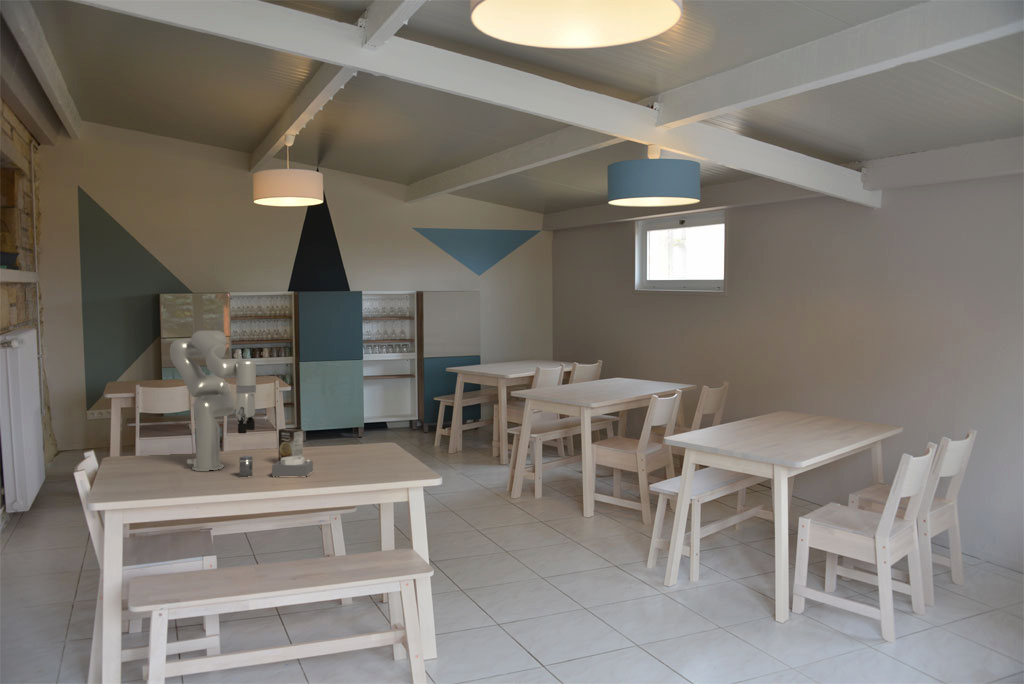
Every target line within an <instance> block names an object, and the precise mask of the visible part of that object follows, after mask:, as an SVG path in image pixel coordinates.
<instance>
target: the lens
mask: <svg viewBox="0 0 1024 684" xmlns="http://www.w3.org/2000/svg"><path fill="white" fill-rule="evenodd" d="M253 461H254V459H253V456H251V455H244V456H240V457H239V461H238V462H239V478H240V477H248V476H252V477H253Z"/></svg>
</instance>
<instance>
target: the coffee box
mask: <svg viewBox="0 0 1024 684" xmlns="http://www.w3.org/2000/svg"><path fill="white" fill-rule="evenodd" d="M290 456H301V457H304V429H302V428H301V429H300V428H291V427H288V428H280V429H278V461H281V458H283V457H290Z"/></svg>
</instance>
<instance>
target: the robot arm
mask: <svg viewBox="0 0 1024 684" xmlns="http://www.w3.org/2000/svg"><path fill="white" fill-rule="evenodd" d="M227 342H228V339H227V336H226V335H225V333H224V332H222V331H221V330H198V331H195V332H194V333H193V334H192V335H191V337H190V338H188V337H187V338H178V339H176V340H174V341H173V342H171V344H170V347H169V356H170V359H171V362H172V364H173V366H174V367H175V368H176V370H177V371H178V373H179V374H180V376H181V378H182V380H183V382H184V385H185V387H186V389H187V391H188V392H189V394H190V396H191V397H193V398H196V399H195V400H194V402H193V406H192V408H193V414H194V420H195V458H194V459H190V458H188V459H187V460H186V463H187V465H193V466H192V467H191V470H192V471H194V470H195V472H210V471H209V470H214V471H218V469H219V470H223V469H224V468H223V467H225V465H224V464H223V463H221V451H220V450H221V447H220V446H221V442H220V441H221V436H220V435H221V433H220V432H221V429H220V424H219V422H218V421H217V419H216V418H218V417H225V416H226V417H227V416H230V415H232V414H233V413H235V418H236V419H237V433H238V434H247V431H254V430H255V427H256V424H255V419H256V418H255V415H256V402H255V401H256V400H255V398H256V397H255V394H256V393H257V384H256V383H257V378H256V377H257V375H256V373H257V367H256V366H257V365H256V364H257V363H256V360H254V359H245V358H223V357H225V354H226V352H227V348H226V345H227ZM191 358H205V365H206V367H207V369H208V370H209V371H210V372H211V373H212V374H208V375H207V374H205V373H204V372H203V370H202V367H201V366H200V365H199V363H197V362H196V361H194V360H193V359H191ZM224 378H235V379H236V381H235V384H236V387H235V388H236V389H235V390H236V401H235V399H234V396H233V394H232V391H231V390H230V388H229V386H228V384H227V381H226V380H225V379H224Z"/></svg>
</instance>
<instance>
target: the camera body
mask: <svg viewBox="0 0 1024 684" xmlns="http://www.w3.org/2000/svg"><path fill="white" fill-rule="evenodd" d="M312 471H313V472H314V461H313V460H310V459H306V458H305V457H304V456H303V457H301V456H290V457H283V458H281V461H279V460H278V461H277V462H275V463H273V464H272V465H271V477H272V476H307V475H308V474H309V473H310V472H312Z"/></svg>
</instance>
